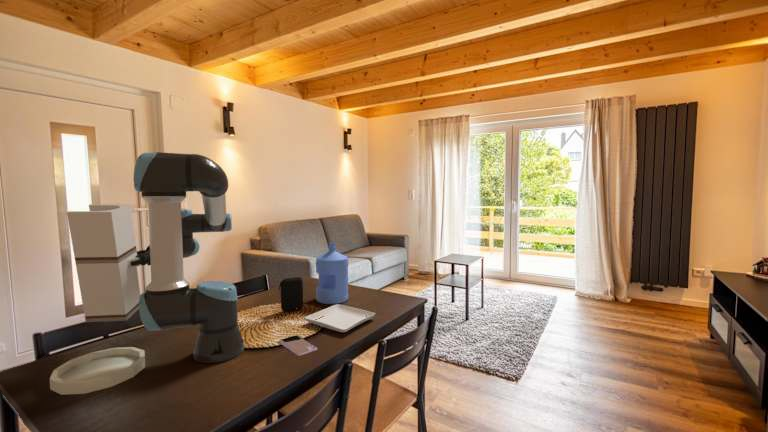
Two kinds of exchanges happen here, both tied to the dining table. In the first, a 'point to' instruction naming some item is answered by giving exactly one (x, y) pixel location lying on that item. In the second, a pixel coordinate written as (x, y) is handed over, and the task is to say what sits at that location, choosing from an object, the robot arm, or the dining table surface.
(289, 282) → the black rounded block
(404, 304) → the dining table surface
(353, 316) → the salad plate
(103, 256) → the tall seamed cream box
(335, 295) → the water jug
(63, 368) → the round tray
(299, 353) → the mobile phone
